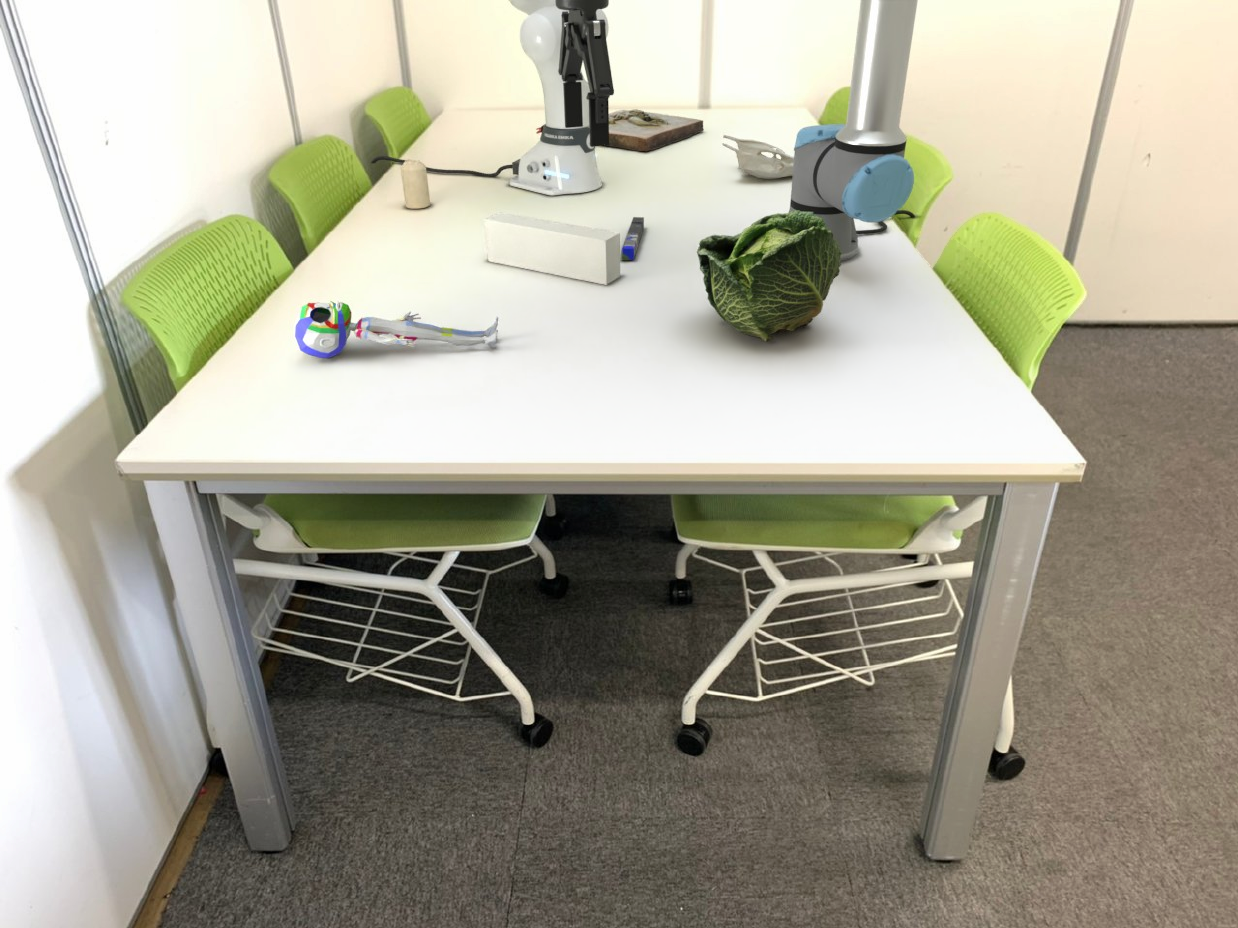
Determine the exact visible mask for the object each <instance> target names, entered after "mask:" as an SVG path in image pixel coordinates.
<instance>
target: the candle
mask: <svg viewBox="0 0 1238 928" xmlns="http://www.w3.org/2000/svg"><path fill="white" fill-rule="evenodd" d="M405 160H406V161H405V162H404V163H402V164H401V166H400V167H399V168H400V175H401V180H402V187H403V188H402V190H403V195H404V197H403V198H404V204H405V207H406V208H408V209H417V210H418V209H424V208H427V207H430V206H431V196H430V189H429V182H428V174H427V172H428V171H426V167H427V166H426V164H425V163H423V162H422V161H420V160H419V159H418V160H415V159H409V158H407V159H405Z"/></svg>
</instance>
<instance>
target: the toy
mask: <svg viewBox="0 0 1238 928" xmlns="http://www.w3.org/2000/svg"><path fill="white" fill-rule="evenodd" d="M411 313H412V311H411V310H410V311H409V312H408V313H406V314H405V315H404V316H403V317H402V318H396V319H391V320H389V319H384V318H380V317H379V318H377V317H374V316H365V317H361V318H360V319H358V321H357V322H352V311H351V308H350V306H349V304H347V303H344V302H342V301H337V302H336V303H335V302H333V301H332V300H330V303H329V302H308V303H306V304H305V305H302V307H301V308H300V311H299V313H298V315H297V318H296V320H295V321H294V325H293V337H294V340H295V342H296V344H297V346H298V348H299V350H300V351H301V352H303V353H305V354H306V355H308V356H312V357H316V358H322V359H329V358H332V357H334V356H337V355H340V354H341V353H342V351H343V350H344V348H345V347H346V346H347V343H348V339H349V337H350V335H351V331H352V332H353V333H354V336H355V337H356V338H358V339H359V340H369V341H371V342H376V343H379V344H382V345H404V346H409V347H412V348H414V346H416V343H414V342H415V341H417V340H424V341H434V342H435V341H437V342H443V343H448V344H451V345H455V346H476V345H482V344H485V345H486V346H489V347H491V348H494V347H495V345H496V343H497V341H498V333H499V330H498V329H497V328H498V326H499V325H498V322H499V317H498V316H496V317H495V321H494V323H493V324H492V325H491V326H490V327H489V328H487V329H486V330H465V329H458V328H453V327H439V326H437V325H433V324H430V323H424V322H418V321H415V320H421V319H422V317H419V315H420V313H416V314H412V315H411ZM416 316H418V317H416ZM381 335H392V336H394V337H391V336H381Z"/></svg>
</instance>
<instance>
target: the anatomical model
mask: <svg viewBox="0 0 1238 928" xmlns="http://www.w3.org/2000/svg"><path fill="white" fill-rule="evenodd" d="M722 138H723V139H727V140H730V141H733V142H735V143H736V144H737V148H735V147H733V146H731V145H729V144H728V143H725V142H722V143H721V144H722V145H721V146H723V147H725V148H726V149H729V150H731V151H733V152H734V153H735V154H736V159H737V163H738V167H737V169H738V170H741V171H742V173H744V174H745V175H750V176H751V175H752V176H754V177H755V178H757V179H766V180H769V179H779V178H784V177H785V178H786V177H793V165H794V156H793V155H789V154H787V153H786V152H785V151H783V149H781V148H779V147H777V146H775V145H772V144H770V143H766V142H764V141H759V140H754V139H744V138H738V137H734V136H730V135H726V134H723V136H722ZM762 153H770V154H772V155H773V156H772V157H768V156H766V155H764V154H762ZM777 155H778V156H779V157H780V158H778V157H777Z"/></svg>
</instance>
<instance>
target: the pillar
mask: <svg viewBox="0 0 1238 928" xmlns="http://www.w3.org/2000/svg"><path fill="white" fill-rule="evenodd" d="M644 229H645V217H644V216H643V217H642V216H633V217H632V219H631V223H630V225H629V228H628V232H627V233H626V237H625V238H624V242H623V245H622V247H621V260H622V261H634V260H635V257H636V254H637V251H638V247H639V244H640V241H641V238H642V235H643V233H644Z"/></svg>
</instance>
